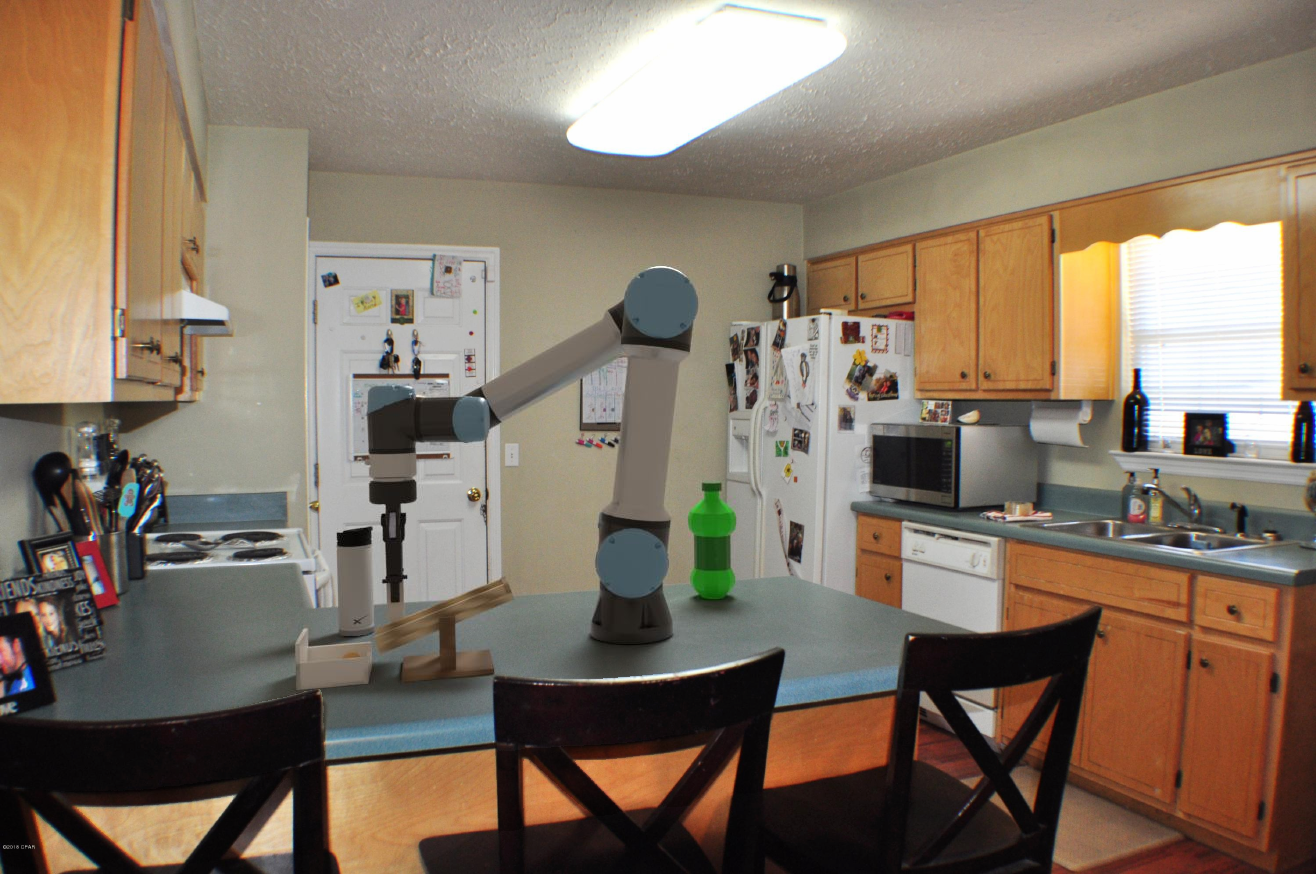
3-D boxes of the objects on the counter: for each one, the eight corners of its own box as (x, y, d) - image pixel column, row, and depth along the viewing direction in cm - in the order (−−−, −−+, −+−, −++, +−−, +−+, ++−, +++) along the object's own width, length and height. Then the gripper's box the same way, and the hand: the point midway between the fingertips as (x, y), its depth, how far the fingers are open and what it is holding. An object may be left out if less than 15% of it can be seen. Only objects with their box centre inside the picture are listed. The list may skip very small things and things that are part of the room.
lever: (507, 583, 149) (501, 569, 149) (514, 599, 137) (508, 583, 137) (384, 633, 144) (378, 618, 144) (380, 654, 132) (373, 638, 132)
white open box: (371, 665, 139) (370, 623, 139) (368, 683, 130) (366, 638, 130) (304, 671, 137) (303, 628, 136) (296, 690, 128) (295, 643, 127)
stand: (489, 654, 145) (488, 600, 145) (494, 673, 134) (493, 615, 134) (403, 661, 141) (402, 606, 141) (401, 682, 131) (400, 622, 130)
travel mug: (364, 638, 156) (361, 529, 155) (332, 636, 157) (329, 528, 157) (382, 629, 162) (379, 524, 161) (350, 627, 164) (348, 524, 163)
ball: (336, 672, 134) (356, 677, 135) (338, 667, 131) (359, 672, 132) (343, 653, 136) (363, 658, 137) (345, 647, 133) (366, 652, 134)
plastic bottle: (691, 591, 192) (689, 480, 191) (738, 591, 190) (737, 480, 189) (686, 601, 182) (685, 484, 181) (735, 602, 180) (734, 484, 179)
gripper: (371, 476, 146) (374, 612, 147) (366, 483, 133) (369, 632, 134) (416, 475, 148) (419, 609, 149) (415, 481, 135) (419, 628, 136)
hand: (395, 620), depth 141 cm, fingers closed
